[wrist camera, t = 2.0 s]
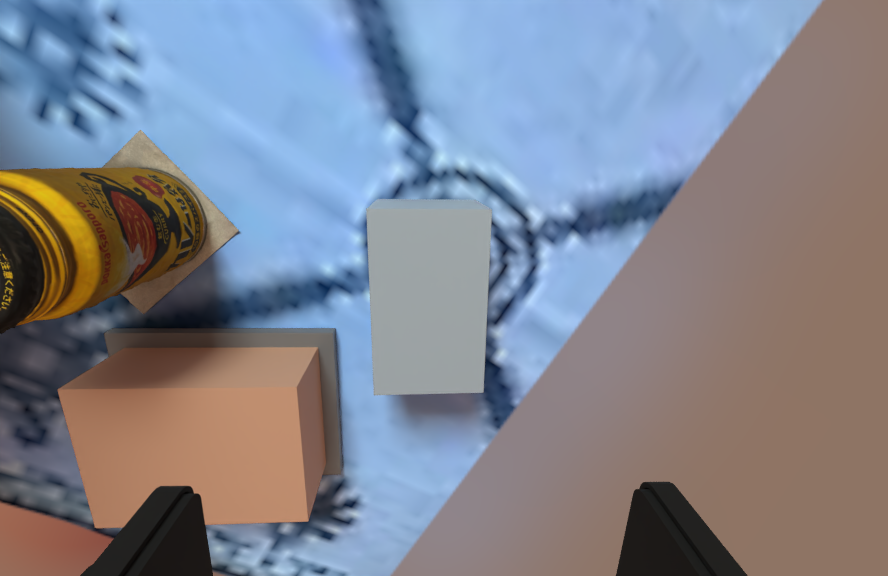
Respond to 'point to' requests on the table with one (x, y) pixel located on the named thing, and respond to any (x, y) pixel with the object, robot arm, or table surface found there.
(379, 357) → the brick
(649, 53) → the table surface
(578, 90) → the table surface
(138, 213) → the condiment
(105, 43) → the table surface
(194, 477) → the brick
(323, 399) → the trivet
